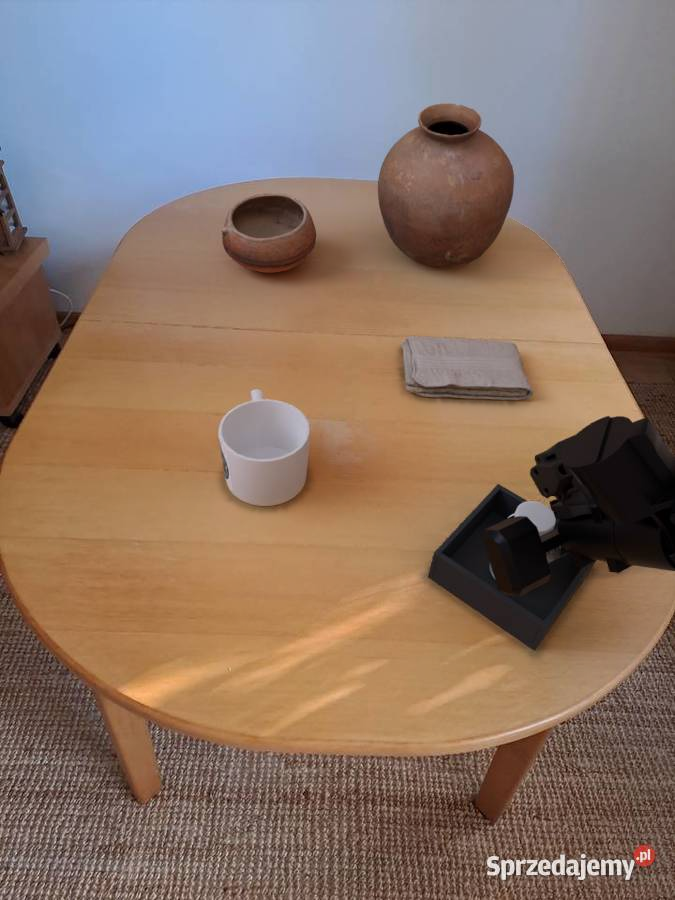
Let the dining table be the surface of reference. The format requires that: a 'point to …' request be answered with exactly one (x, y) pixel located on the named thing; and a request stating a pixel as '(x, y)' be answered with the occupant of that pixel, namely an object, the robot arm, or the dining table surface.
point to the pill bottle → (535, 517)
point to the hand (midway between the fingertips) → (518, 521)
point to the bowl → (269, 232)
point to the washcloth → (464, 368)
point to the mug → (264, 450)
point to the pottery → (445, 188)
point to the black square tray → (471, 581)
